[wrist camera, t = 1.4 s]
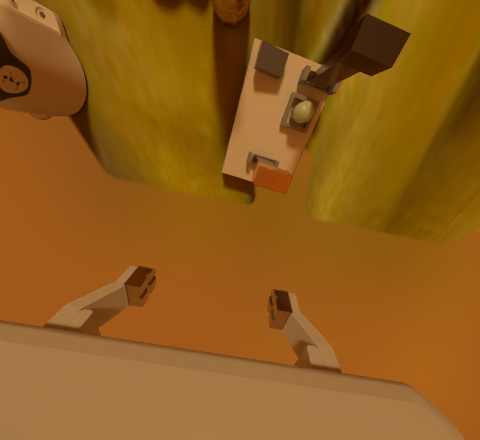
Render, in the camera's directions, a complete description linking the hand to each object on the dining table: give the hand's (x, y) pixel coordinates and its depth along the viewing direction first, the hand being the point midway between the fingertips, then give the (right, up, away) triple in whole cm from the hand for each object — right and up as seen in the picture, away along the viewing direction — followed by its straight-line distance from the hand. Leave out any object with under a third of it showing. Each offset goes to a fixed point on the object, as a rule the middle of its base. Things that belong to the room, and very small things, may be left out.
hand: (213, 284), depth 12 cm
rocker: (+7, +29, +15) cm, 34 cm away
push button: (+12, +24, +19) cm, 33 cm away
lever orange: (+6, +16, +22) cm, 28 cm away
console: (+8, +24, +24) cm, 35 cm away
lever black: (+15, +27, +16) cm, 35 cm away
